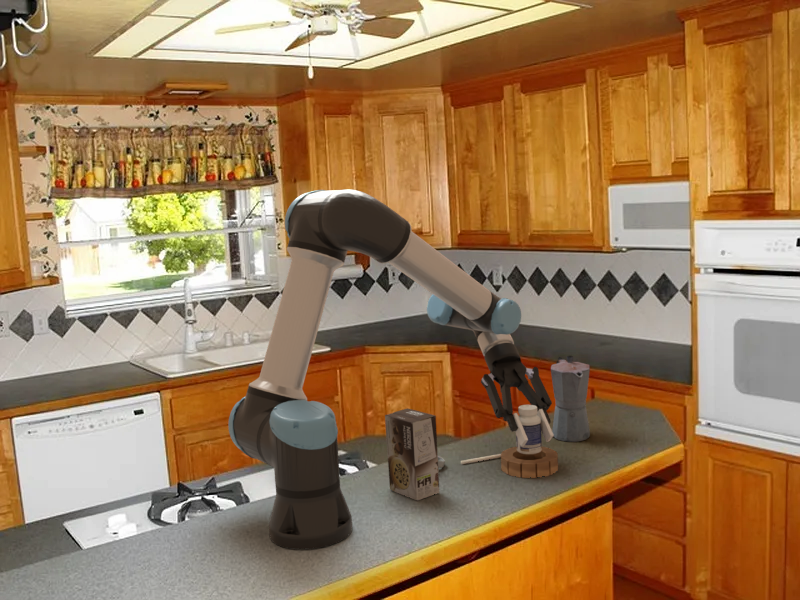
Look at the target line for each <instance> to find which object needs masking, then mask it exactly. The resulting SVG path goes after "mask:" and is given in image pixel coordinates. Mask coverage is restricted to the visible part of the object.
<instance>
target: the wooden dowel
mask: <svg viewBox="0 0 800 600" xmlns="http://www.w3.org/2000/svg"><path fill="white" fill-rule="evenodd" d="M489 459H490V460H494V459H501V453H497V454H493V455H487V456H481V457H475V458H470V459H464V460H460V464H461V465H467V464H472V463H478V461H479V462H483V460H484V461H489Z"/></svg>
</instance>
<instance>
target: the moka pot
mask: <svg viewBox="0 0 800 600" xmlns="http://www.w3.org/2000/svg"><path fill="white" fill-rule="evenodd" d="M590 369H591V368H590V364H588V363H587V364H586V363H583V362H580V361H574V355H572V354H571V355H567V356H566V359H563V358H562V357H561V356H558V358H557V361H556V363H554V364H551V366H550V373H551V381H552V383H551V384H552V387H553V388H552V389H553V394H554V396H553V397H554V399H555V406H554V416H553V422H552V428H551V430H552V432H553V435H554V436H553V437H554V438H555V440H558V441H561V442H562V441H563V442H568V443H569V442H571V443H574V442H576V443H577V442H582V441H585V440H587V439H589V437H590V435H591V431H590V430H591V429H590V423H589V419H588V412H587V406H586V405H587V396H588V387H589V381H590V380H589V378H590ZM553 437H552V438H553Z"/></svg>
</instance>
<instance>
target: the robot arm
mask: <svg viewBox="0 0 800 600" xmlns="http://www.w3.org/2000/svg"><path fill="white" fill-rule="evenodd" d="M284 229H285V231H286V232H287V237H288V243H287V247H286V251H287V253H288V254H289V256H290V257H291V258H290V259H291V261H290V264H289V265H290V266H289V269H288V273H287V277H286V279H285V283H284V287H283V290H282V294H281V297H280V302H279V306H278V308H277V312H276V316H275V319H274V323H273V327H272V330H271V334H270V337H269V341H268V345H267V347H266V351H265V355H264V359H263V362H262V366H261V370H260V374H259V377H257V378H256V379H255V380H253V381H252V382H249V384H248V386H247V390H246V394H245V396H244V397H242V398H241V399H240V400H239V401H237V402H236V403H235V404H234V406H233V407H232V409H231V410H230V414H229V417H228V433H229V436H230V439H231V441H232V442H233V444H234V445H235V446H236V447H237V449H239V450H240V451H241V452H242V453H244V454H245V455H246V456H248V457H250V458H251V459H255V460H257V461H260V462H262V463H264V464H266V465H268V466H271V467H273V470H274V483H275V498H274V502H273V506H272V510H271V515H270V518H269V521H268V532H269V539H270V541H271V542H272V543H274V545H277V546H279V547H282V548H285V549H290V548H291V550H312V549H313V550H315V549H318V548H319V549H320V548H325V547H329V546H331V545H334V544H337V543H339V542H342V541H343V540H345V539H346V538H348V537H349V536H350V535H351V533H352V531H353V518H352V513H351V511H350V509H349V506H348V503H347V502H346V501H347V500H346V499H345V496H344V494H343V492H342V489H341V481H340V479H341V478H340V477H341V476H340V475H341V474H340V463H339V460H340V459H339V447H338V446H339V444H338V442H339V441H338V434H339V431H338V426H337V420H336V415H335V412H334V411H333V410H332V408H330V407H329V406H328V405H326V404H324V403H323V402H320V401H315V400H311V401H308V397H307V396H306V394H305V392H304V390H303V387H304V383H305V379H306V375H307V371H308V367H309V364H310V360H311V357H312V354H313V350H314V345H315V343H316V338H317V336H318V330H319V329H320V328H319V327H320V324H321V321H322V318H323V313H324V309H325V305H326V302H327V300H328V299H327V298H328V295H329V291H330V287H331V283H332V280H333V279H332V278H333V276H334V272H335V271H336V270H338V269H339V268H341V267H343V266H344V265H345V261H346V258H347V255H348V252H356V253H359V254H362V255H366V256H367V257H370V258H371V259H374V260H375V261H376V262H377V263H380V264H384V265H385V264H390V266H391V267H394V268H396V270H398V271H400V273H402V274H404V275H405V276H406V277H408V278H409V279H411V280H412V281H414V282H415V283H417V284H418V285H419V286H421V287H422V288H423V289H425V290H426V291H428V292H429V293H430V294H431V295H430V297H429V299H428V301H427V307H426V312H427V317H428V319H429V320H430V321H431V322H432V323H434V324H439V325H441V326H447V327H453V328H458V329H464V330H469V331H472V332H473V335H474V336H475V338H476V341H477V343H478V346H479V348H480V351H481V353H482V355H483V358H484V361H485V363H486V365H487V368H488V370H489V372H490V373H484V374H483V376H482V378H481V380H480V384H481V385H482V386H483V387H484V389H485V390H486V392H487V393H486V394H487V396H488V398H489V402H490V404H491V406H492V409H493V412H494V415H495V417H496V418H497V419H501V418H502V420H503V421H504V422H507V425H508V427H509V430H510V431H511V433H512V432H514V433H515V437H516V436H517V438H518V441H519V443H520V446H524V445H525V444H526V442H527V441H528V438H527V436H526V433H525V431H524V429H523V426H522V424H521V421H520V419H519V413H518V412H514V411H513V410H514V409H513V401H512V393H511V388H517V390H518V391H519V392H521V393H522V394H523V396H524V397H525V399H526V400H527V401H528V403H529V405H535V406H537V411H538V412H537V414H536V415H537V416H539V417H540V419H541V434H542V435H543V437H544V441H545V443H549V442H550V441H551V440H552V439H553V436H554V435H553V432H552V428H551V426H550V424H551V423H552V422H551V418H550V416H549V413H548V410H549V408H550V407H551V406H552V403H553V402H552V400H551V397H550V395H549V394H548V392H547V389H546V387H545V385H544V383H543V382H542V379H541V377H540V372H539V368H538V367H537V366H534V367H533V368H528V367H526V365H525V364H523V362H522V357H521V356H520V353H519V350H518V349H517V346H516V345H515V341H514V339H513V337H512V336H511V334H513V333H514V332H516V330H518V328H519V326H520V323H521V321H522V310H521V307H520V306H519V303H517V302H516V301H515V300H513V299H508V298H506V297H502V298H501V297H500V296H497V294H495V293H493V292H492V291H491V290H489V289H488V288H486V286H484V285H483V284H482V283H480V281H479V282H478V281H477V280H476V279H475V278H474V277H472V276H471V275H469V274H468V273H467V272H466V271H465V270H463V269H462V268H461V267H459V266H458V265H457V264H455V263H454V262H453V261H452V260H450V259H449V258H448V257H446V256H445V255H444V254H442V253H441V252H440V251H439V250H437V249H435V248H434V247H433V246H432V245H430V243H428V242H426V241H425V240H424V239H423V238H421V237H420V236H418V235H417V234H416V233H415V232H413V231H412V225H411V223H410V222H409V221H408V220H407V219H405V218H404V217H403V216H401V215H400V214H399V213H397V212H396V211H395V210H394V209H391V208H390V207H389V206H387V205H386V204H385V203H384V202H382V201H380V200H379V199H377V198H375V197H373V196H372V195H370V194H368V193H366V192H364V191H360V190H357V189H347V188H346V189H335V190H334V189H333V190H332V189H331V190H325V189H317V190H313V191H308V192H305V193H302V194H301V195H299V196H298V197H296V198H295V199H294V200H293V201H292V202H291V203H290V205H289V207H288V208H287V211H286V214H285V217H284ZM526 376H527V377H526ZM529 380H530V383H529ZM495 382H496V383H497V384H499V388H500V393H501V398H500V394H499V393H498V389H497V386H496V384H495ZM531 385H532V386H531Z"/></svg>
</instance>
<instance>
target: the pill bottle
mask: <svg viewBox="0 0 800 600" xmlns="http://www.w3.org/2000/svg"><path fill="white" fill-rule="evenodd" d="M517 410H518V412H517V414H518V416H519V419H520V421H521V424H522V426H523V429H524V431H525V433H526V436H527V438H528V441H527V442H526V444H525V445H524V446H520V443H519V441H518V438H517V436H516V435H515V437H516V438H515V441H516V442H515V444H516V446H515V447H517V451H518V452H519V453H522V454H536V453H539V452H541V450H542V447H543V445H542V431H541V419H540V417H539V416H537V415H536V414H537V412H538V411H537V406H535V405H531V404H522V405H519V406H518V409H517Z"/></svg>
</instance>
